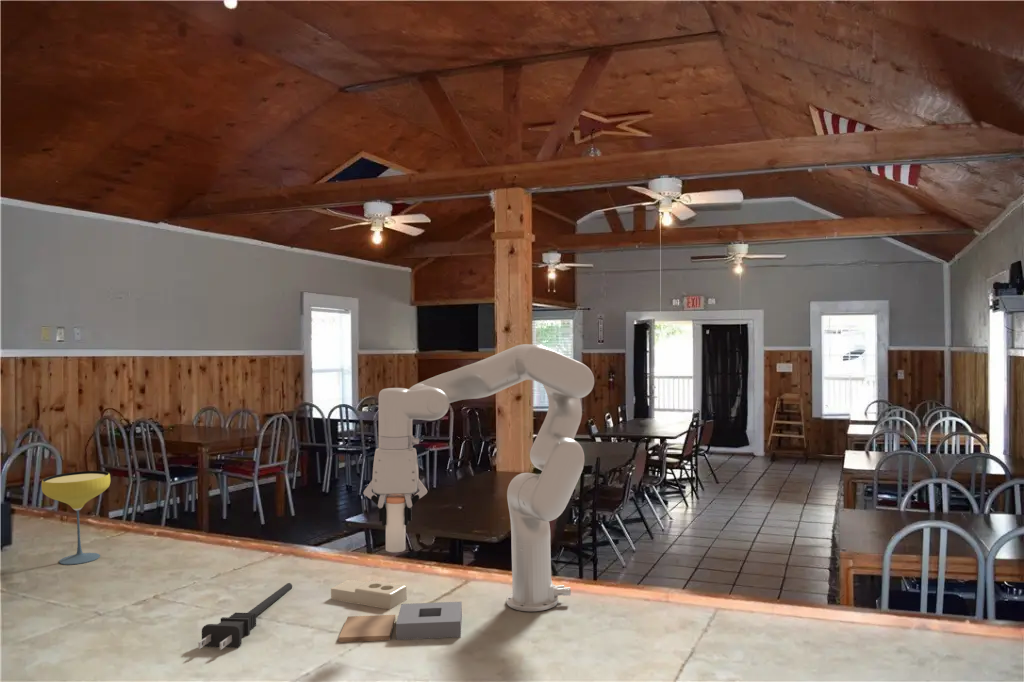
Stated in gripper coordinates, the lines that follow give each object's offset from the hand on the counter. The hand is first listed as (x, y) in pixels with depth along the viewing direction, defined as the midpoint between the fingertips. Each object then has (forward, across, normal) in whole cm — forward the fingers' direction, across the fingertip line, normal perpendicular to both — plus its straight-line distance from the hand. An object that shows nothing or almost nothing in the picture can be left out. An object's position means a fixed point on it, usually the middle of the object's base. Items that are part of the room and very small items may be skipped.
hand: (395, 523), depth 177 cm
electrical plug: (+26, +34, -11) cm, 44 cm away
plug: (+6, 0, 0) cm, 6 cm away
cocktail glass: (+26, +100, -65) cm, 122 cm away
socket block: (+24, -8, 0) cm, 25 cm away
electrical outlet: (+25, +8, -20) cm, 33 cm away
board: (+24, +6, -1) cm, 25 cm away
